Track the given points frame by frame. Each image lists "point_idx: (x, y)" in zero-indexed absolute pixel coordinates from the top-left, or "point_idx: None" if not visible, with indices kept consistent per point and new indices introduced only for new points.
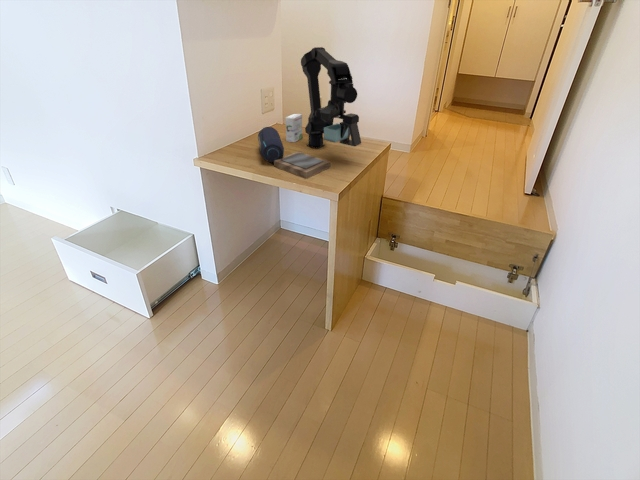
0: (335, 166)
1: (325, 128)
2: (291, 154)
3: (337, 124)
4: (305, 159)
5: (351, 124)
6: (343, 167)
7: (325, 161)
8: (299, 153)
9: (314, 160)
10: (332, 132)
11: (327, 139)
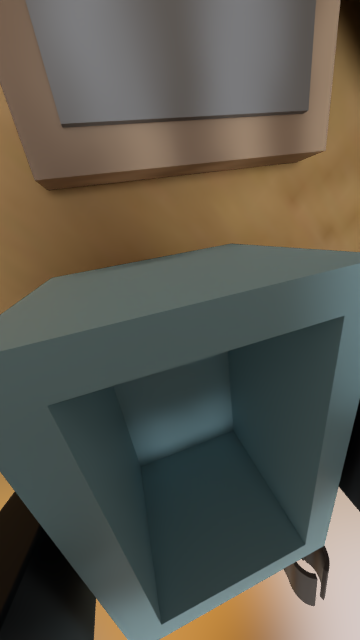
0: (49, 238)
1: (341, 265)
2: (330, 49)
3: (299, 536)
4: (181, 9)
5: None
6: (5, 270)
7: (61, 151)
8: (297, 103)
9: (115, 61)
10: (90, 304)
11: (180, 254)
